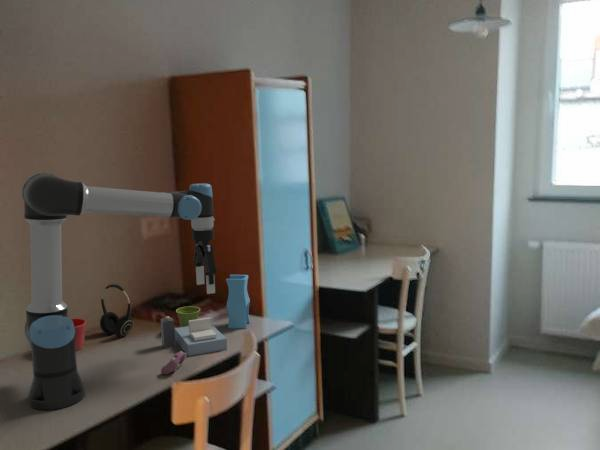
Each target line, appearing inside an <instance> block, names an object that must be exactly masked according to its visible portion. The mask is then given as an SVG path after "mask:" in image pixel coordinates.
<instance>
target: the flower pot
mask: <svg viewBox="0 0 600 450" xmlns="http://www.w3.org/2000/svg"><path fill="white" fill-rule="evenodd" d="M70 319H71V320H72V321H73V323H74V327H75V347H76V352H78V351H80V350H82V349H83V348H84V345H85V339H86V338H85V337H86V327H87V320H85V319H84V318H74V317H73V318H70Z"/></svg>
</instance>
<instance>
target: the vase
mask: <svg viewBox="0 0 600 450" xmlns="http://www.w3.org/2000/svg"><path fill="white" fill-rule="evenodd" d="M225 281H226V284H227V287H228V296H227V301H226V309H227V313H228V323H227V328H228V329H243V330H244V329H245V330H246V329H248V326H247V324H250V323H251V320H250V315H249V310H250V309H249V307H250V303H251V299H250V297H249V293H248V281H249V275H248V274H230V275H229V278H226V279H225Z"/></svg>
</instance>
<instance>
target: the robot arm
mask: <svg viewBox="0 0 600 450" xmlns="http://www.w3.org/2000/svg"><path fill="white" fill-rule="evenodd" d="M212 188H213V187H212V185H211V184H209V183H192V184H190V185H189V190H181V191H163V192H160V191H159V192H158V191H146V190H145V191H144V190H135V189H123V188H113V187H99V186H88V185H86V184H85V183H84V182H82V181H72V180H68V179H65V178H62V177H58V176H57V175H54V174H52V173H45V172H42V173H36V174H34V175H32V176H30V177H29V178H28V179H27V180H26V181H25V183H24V184H23V186H22V190H21V194H22V200H23V202H24V203H23V208H24V209H23V210H24V211H23V212H24V213H23V214H24V220H25V222H27V223H28V224H29V226H30V228H29V229H30V235H29V236H30V238H29V239H30V276H31V278H30V279H31V280H30V283H31V284H30V285H31V286H30V287H31V288H30V289H31V302H30V304H28V305H27V306H26V309H25V311H26V312H25V314H26V317H25V318H26V319H25V325H24V334H25V337H26V339H27V341H28V343H29V346H30V347H29V348H30V350H31V360H32V370H33V371H32V373H33V378H32V382H31V385H30V389H29V393H28V405H29V407H31V408H32V409H36V410H43V411H50V410H58V409H63V408H68V407H70V406H73V405H75V404H77V403H79V402H81V400H83V399H84V398H85V396H86V390H85V389H86V387H85V385H84V381H83V380H82V377H81V376H80V374H79V372H78V365H77V351H76V347H75V327H74V323H73V321H72V320H71V319H72V318H70V317H68V316H69V315H68V313H69V312H68V311H69V310H68V304H67V303H65V301H64V300H63V270H62V269H63V268H62V267H63V265H62V264H63V261H62V258H63V256H62V255H63V254H62V252H63V249H62V224H63V223H64V222H65V221H66V220H67V216H79V217H80V216H82V215H83V214H85V213H89V214H90V213H91V214H92V213H93V214H105V215H106V214H111V215H125V216H126V215H127V216H138V217H139V216H141V217H157V218H172V219H183V220H186V221H188V220H189V221H190V222H191V228H192V230H191V238H192V241H194V256H193V257H194V258H193V264H194V265H195V275H196V276H195V278H196V280H195V281H196V285H197V286H200V285H205V284H206V294H207V295H210V294H216V282H215V281H216V280H215V278H216V277H215V275H216V274H217V267H216V262H215V256H214V249H213V248H214V247H213V245H212V244H211V245H210V241H213V240H214V239H215V230H214V226H215V225H214V222H215V220H216V219H215V217H214V205H213V204H214V203H213V202H214V199H213V197H214V196H213V189H212ZM205 271H206V272H205ZM205 278H206V279H205ZM205 280H206V283H205Z"/></svg>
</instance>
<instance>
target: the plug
mask: <svg viewBox="0 0 600 450" xmlns="http://www.w3.org/2000/svg"><path fill="white" fill-rule="evenodd" d="M174 328H175V320H174V319H173V317H172V316H171V317H170V316H169V315H167V316H164V318H160V332H161V333H160V335H161V346H162V348H163V349H170V348H176V339H175V329H174Z"/></svg>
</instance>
